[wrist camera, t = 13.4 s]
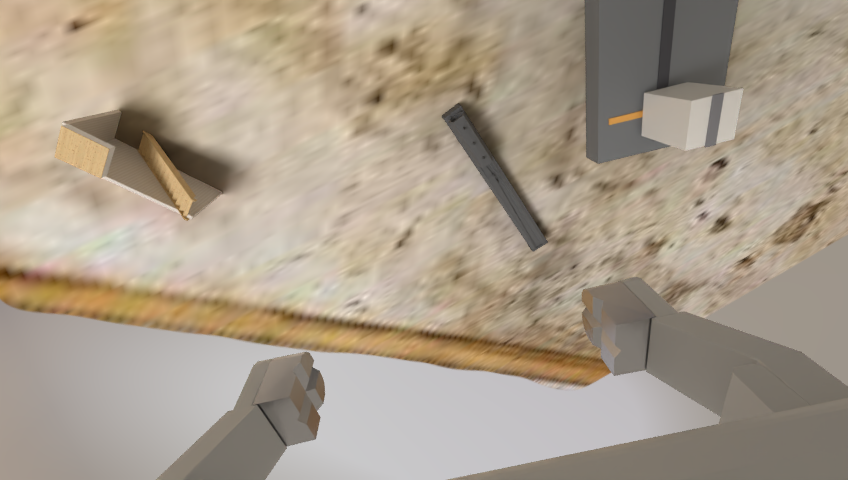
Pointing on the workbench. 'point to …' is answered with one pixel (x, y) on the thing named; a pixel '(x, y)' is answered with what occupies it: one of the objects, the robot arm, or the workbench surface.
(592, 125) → the slider console
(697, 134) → the fader cap
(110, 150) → the model
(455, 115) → the dark grey bar
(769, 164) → the workbench surface
